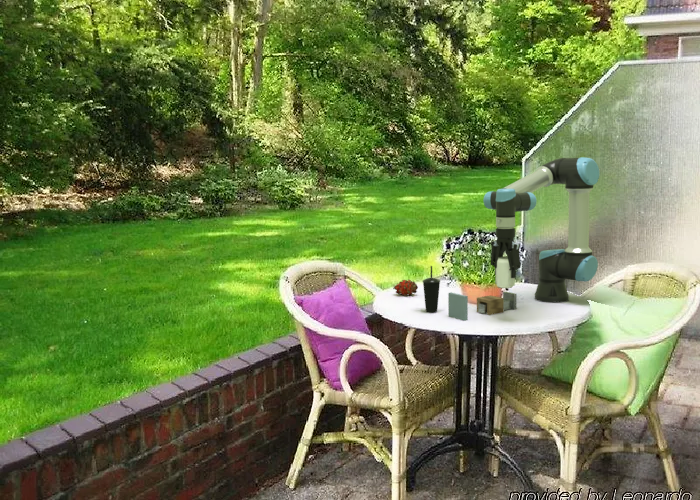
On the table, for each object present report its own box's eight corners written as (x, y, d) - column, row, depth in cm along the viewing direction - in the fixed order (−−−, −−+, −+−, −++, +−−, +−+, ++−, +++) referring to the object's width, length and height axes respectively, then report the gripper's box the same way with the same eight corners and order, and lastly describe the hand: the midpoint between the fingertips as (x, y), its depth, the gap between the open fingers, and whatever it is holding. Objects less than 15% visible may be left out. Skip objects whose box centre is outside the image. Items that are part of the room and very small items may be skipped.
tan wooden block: (490, 309, 305) (490, 295, 304) (503, 312, 298) (503, 298, 298) (476, 311, 301) (476, 297, 300) (489, 315, 294) (489, 300, 293)
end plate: (451, 315, 294) (451, 292, 293) (467, 320, 286) (467, 296, 285) (448, 316, 293) (448, 292, 292) (464, 320, 285) (464, 296, 284)
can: (516, 286, 283) (516, 257, 281) (508, 289, 278) (508, 259, 276) (501, 284, 287) (502, 255, 285) (493, 287, 282) (494, 257, 280)
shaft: (505, 306, 309) (505, 291, 308) (516, 308, 304) (516, 293, 303) (476, 311, 299) (476, 296, 299) (486, 314, 294) (486, 299, 293)
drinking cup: (422, 313, 299) (422, 267, 297) (422, 309, 307) (422, 264, 304) (440, 313, 298) (440, 267, 296) (440, 309, 306) (440, 264, 303)
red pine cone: (419, 299, 337) (395, 302, 339) (419, 286, 343) (395, 289, 346) (416, 287, 331) (391, 290, 334) (416, 274, 337) (391, 277, 340)
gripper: (481, 226, 285) (481, 282, 288) (517, 230, 269) (516, 289, 272) (494, 225, 289) (494, 280, 292) (530, 228, 273) (529, 286, 276)
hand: (505, 284), depth 282 cm, fingers closed on can, 6 cm apart
